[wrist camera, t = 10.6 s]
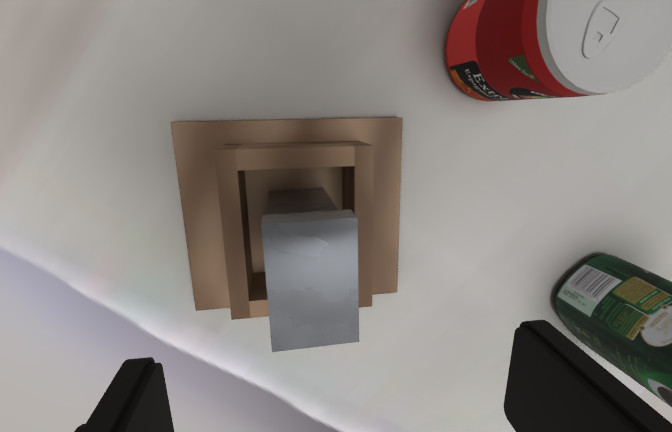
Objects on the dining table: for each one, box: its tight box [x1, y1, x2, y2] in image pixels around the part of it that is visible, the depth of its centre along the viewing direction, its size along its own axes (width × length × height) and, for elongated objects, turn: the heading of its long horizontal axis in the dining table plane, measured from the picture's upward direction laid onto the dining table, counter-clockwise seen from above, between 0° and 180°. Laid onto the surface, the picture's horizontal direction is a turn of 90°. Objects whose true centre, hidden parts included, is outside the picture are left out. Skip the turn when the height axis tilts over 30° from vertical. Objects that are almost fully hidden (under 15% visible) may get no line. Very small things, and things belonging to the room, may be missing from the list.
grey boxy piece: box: [261, 188, 359, 352], centre depth 22 cm, size 4×6×12 cm, turn 2°
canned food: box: [445, 0, 672, 101], centre depth 22 cm, size 8×8×11 cm
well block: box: [171, 118, 402, 320], centre depth 26 cm, size 16×14×6 cm
